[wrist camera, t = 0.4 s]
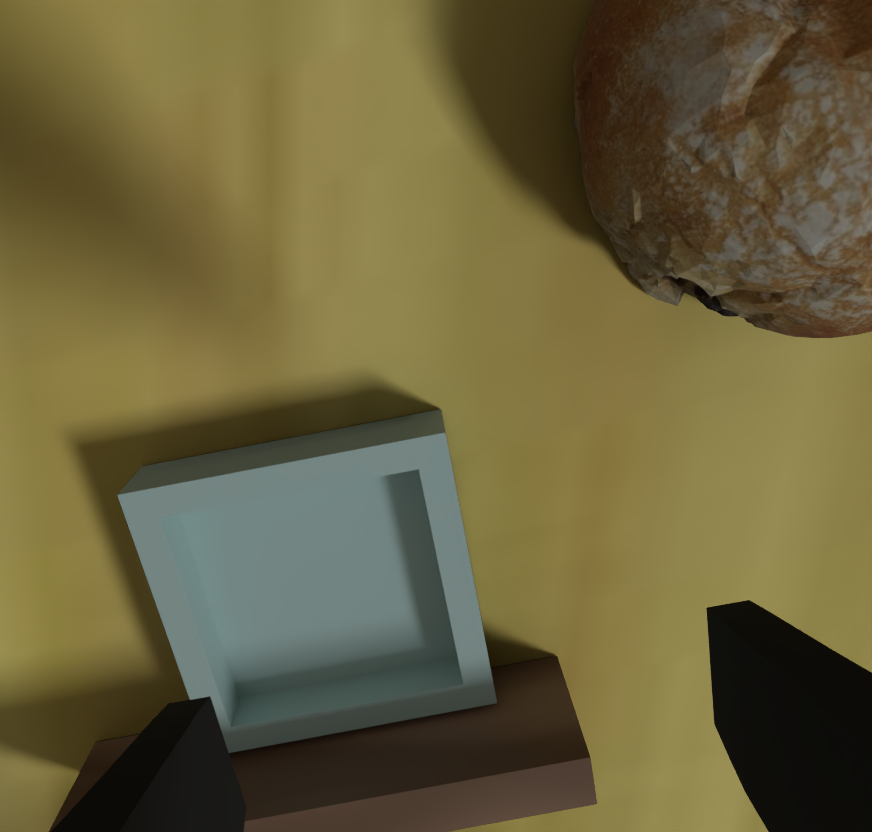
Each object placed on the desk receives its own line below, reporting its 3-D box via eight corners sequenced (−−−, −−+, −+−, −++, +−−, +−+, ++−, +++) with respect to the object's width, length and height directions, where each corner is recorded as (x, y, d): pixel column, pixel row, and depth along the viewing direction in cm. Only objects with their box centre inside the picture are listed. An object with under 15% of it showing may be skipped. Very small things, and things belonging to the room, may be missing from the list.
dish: (489, 661, 22) (497, 702, 20) (224, 711, 22) (210, 756, 20) (440, 409, 19) (445, 432, 18) (141, 466, 20) (117, 495, 18)
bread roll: (508, 178, 21) (509, 350, 15) (679, -304, 14) (799, -320, 9) (819, 268, 23) (928, 459, 17) (1113, -135, 16) (1473, -50, 10)
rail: (563, 697, 23) (596, 803, 19) (111, 781, 23) (54, 904, 19) (557, 655, 22) (590, 757, 18) (95, 742, 22) (33, 860, 18)
